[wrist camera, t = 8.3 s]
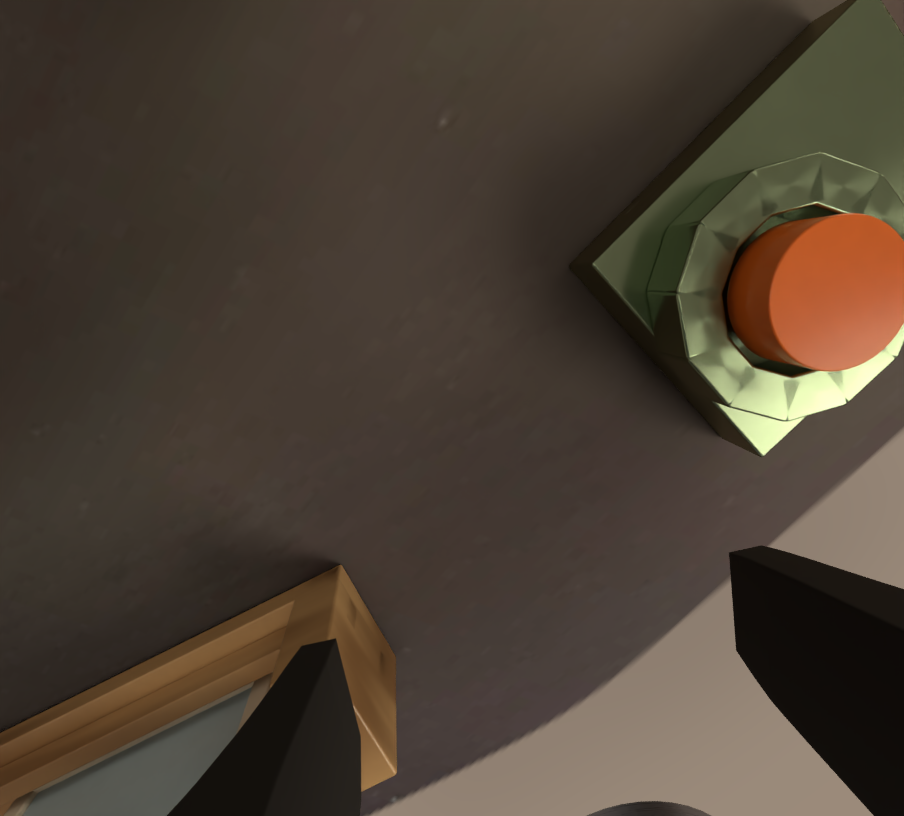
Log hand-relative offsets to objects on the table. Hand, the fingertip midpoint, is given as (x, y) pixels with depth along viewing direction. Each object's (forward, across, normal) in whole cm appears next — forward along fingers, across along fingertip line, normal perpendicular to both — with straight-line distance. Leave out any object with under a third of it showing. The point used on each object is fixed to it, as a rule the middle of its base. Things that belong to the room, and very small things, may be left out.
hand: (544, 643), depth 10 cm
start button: (+5, -9, -4) cm, 11 cm away
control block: (+9, -10, -6) cm, 15 cm away
